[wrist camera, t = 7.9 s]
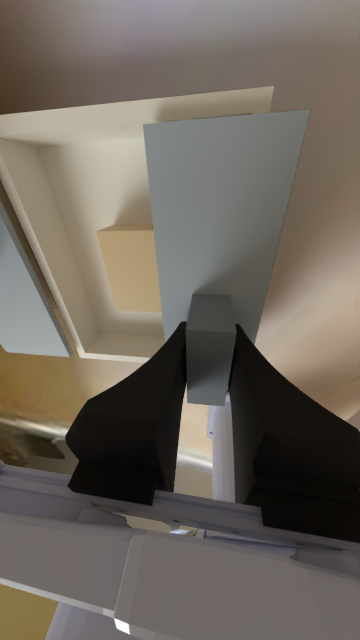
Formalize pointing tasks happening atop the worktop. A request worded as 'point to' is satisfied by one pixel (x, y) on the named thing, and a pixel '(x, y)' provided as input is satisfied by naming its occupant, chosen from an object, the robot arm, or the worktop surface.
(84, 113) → the carton
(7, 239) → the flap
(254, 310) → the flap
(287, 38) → the worktop surface
